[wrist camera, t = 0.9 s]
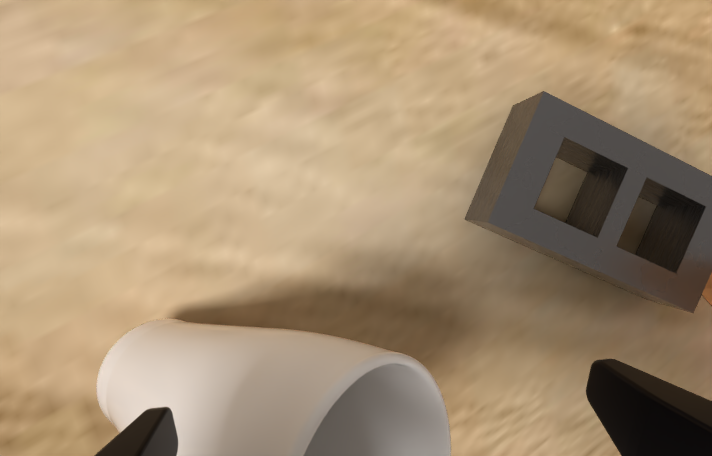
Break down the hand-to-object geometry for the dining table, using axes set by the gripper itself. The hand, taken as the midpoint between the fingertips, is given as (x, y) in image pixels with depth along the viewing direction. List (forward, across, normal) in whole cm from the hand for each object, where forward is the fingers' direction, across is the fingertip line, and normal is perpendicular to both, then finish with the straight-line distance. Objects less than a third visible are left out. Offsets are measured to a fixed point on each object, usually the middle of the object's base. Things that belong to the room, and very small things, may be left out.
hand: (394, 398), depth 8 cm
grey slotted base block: (+14, -15, +1) cm, 21 cm away
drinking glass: (+11, +10, +7) cm, 16 cm away
